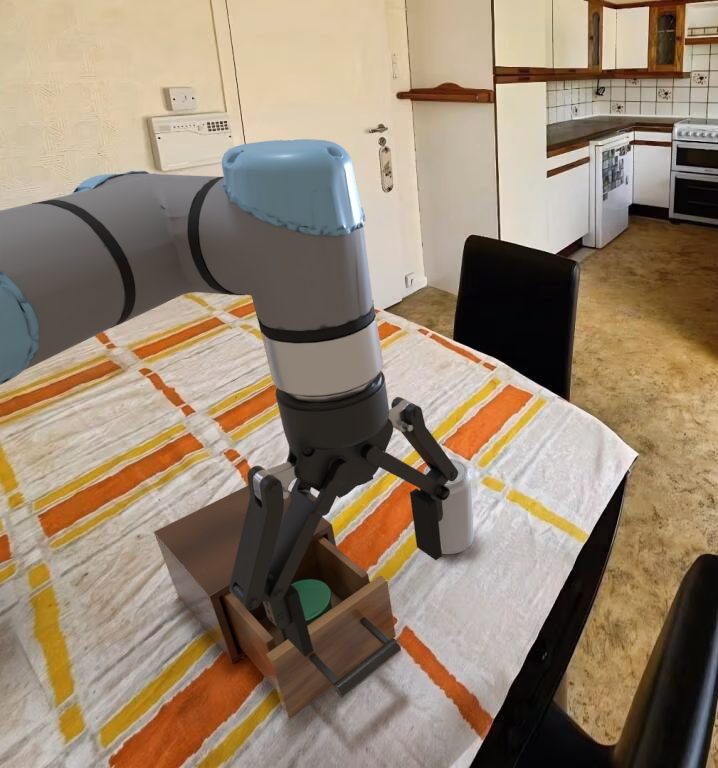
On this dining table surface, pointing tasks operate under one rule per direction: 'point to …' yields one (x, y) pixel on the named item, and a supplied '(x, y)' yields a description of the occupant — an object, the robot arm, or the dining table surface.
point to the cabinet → (212, 560)
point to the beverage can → (457, 512)
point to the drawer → (321, 632)
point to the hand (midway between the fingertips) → (370, 594)
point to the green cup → (312, 599)
